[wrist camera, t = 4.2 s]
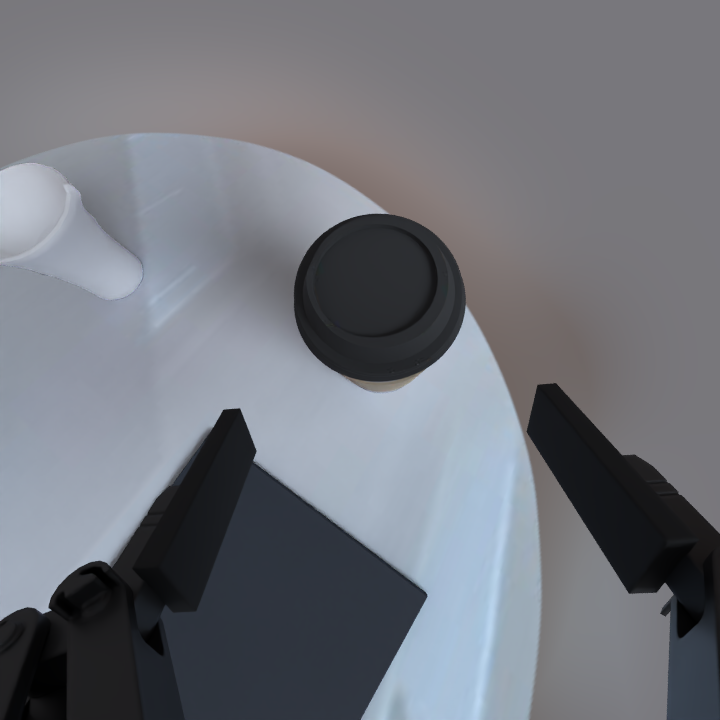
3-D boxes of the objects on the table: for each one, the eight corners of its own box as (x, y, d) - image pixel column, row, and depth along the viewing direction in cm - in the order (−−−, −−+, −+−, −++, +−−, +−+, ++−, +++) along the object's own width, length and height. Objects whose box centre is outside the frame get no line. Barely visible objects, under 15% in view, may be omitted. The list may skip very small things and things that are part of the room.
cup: (169, 295, 32) (75, 233, 22) (83, 325, 32) (-49, 277, 22) (155, 225, 34) (64, 141, 24) (74, 253, 34) (-49, 181, 24)
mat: (426, 593, 24) (427, 596, 23) (272, 876, 21) (269, 886, 20) (213, 432, 28) (210, 431, 28) (58, 646, 25) (52, 650, 25)
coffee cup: (412, 298, 30) (438, 166, 15) (445, 388, 28) (513, 335, 13) (321, 325, 30) (261, 221, 15) (347, 418, 28) (304, 398, 13)
